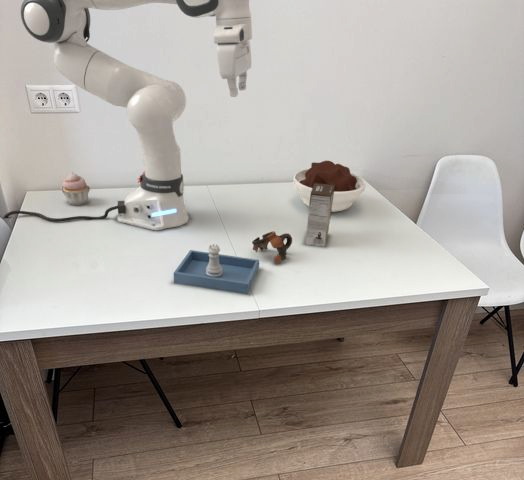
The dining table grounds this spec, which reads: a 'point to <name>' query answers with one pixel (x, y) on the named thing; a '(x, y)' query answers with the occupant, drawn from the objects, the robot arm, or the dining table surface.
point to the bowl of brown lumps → (330, 183)
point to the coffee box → (319, 214)
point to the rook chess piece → (214, 262)
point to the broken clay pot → (274, 244)
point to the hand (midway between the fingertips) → (238, 93)
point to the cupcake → (75, 189)
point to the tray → (232, 279)
